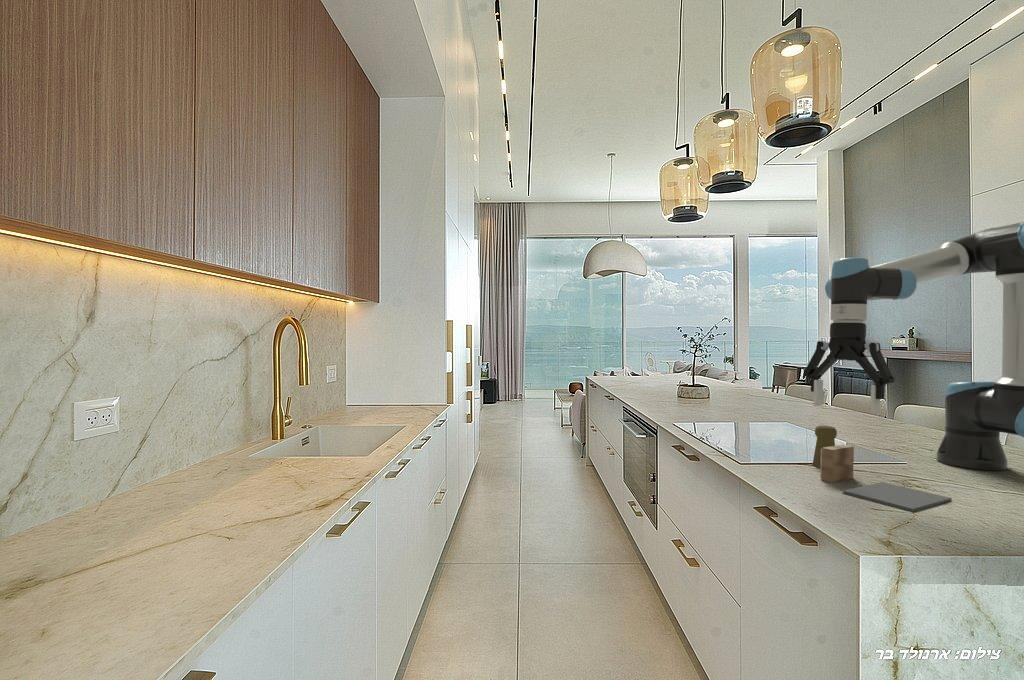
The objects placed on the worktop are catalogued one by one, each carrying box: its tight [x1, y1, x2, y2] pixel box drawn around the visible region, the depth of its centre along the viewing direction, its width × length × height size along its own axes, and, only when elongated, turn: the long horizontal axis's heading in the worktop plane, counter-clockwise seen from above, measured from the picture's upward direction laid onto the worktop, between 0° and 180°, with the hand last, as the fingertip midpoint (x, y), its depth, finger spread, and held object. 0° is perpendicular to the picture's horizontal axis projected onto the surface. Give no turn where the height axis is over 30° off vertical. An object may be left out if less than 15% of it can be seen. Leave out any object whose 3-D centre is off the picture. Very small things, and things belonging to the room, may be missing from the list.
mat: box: [842, 481, 952, 512], centre depth 121 cm, size 16×14×1 cm
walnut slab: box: [819, 444, 855, 483], centre depth 135 cm, size 9×3×8 cm, turn 119°
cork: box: [811, 424, 838, 469], centre depth 148 cm, size 6×6×11 cm
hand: (845, 409), depth 133 cm, fingers open, 13 cm apart
